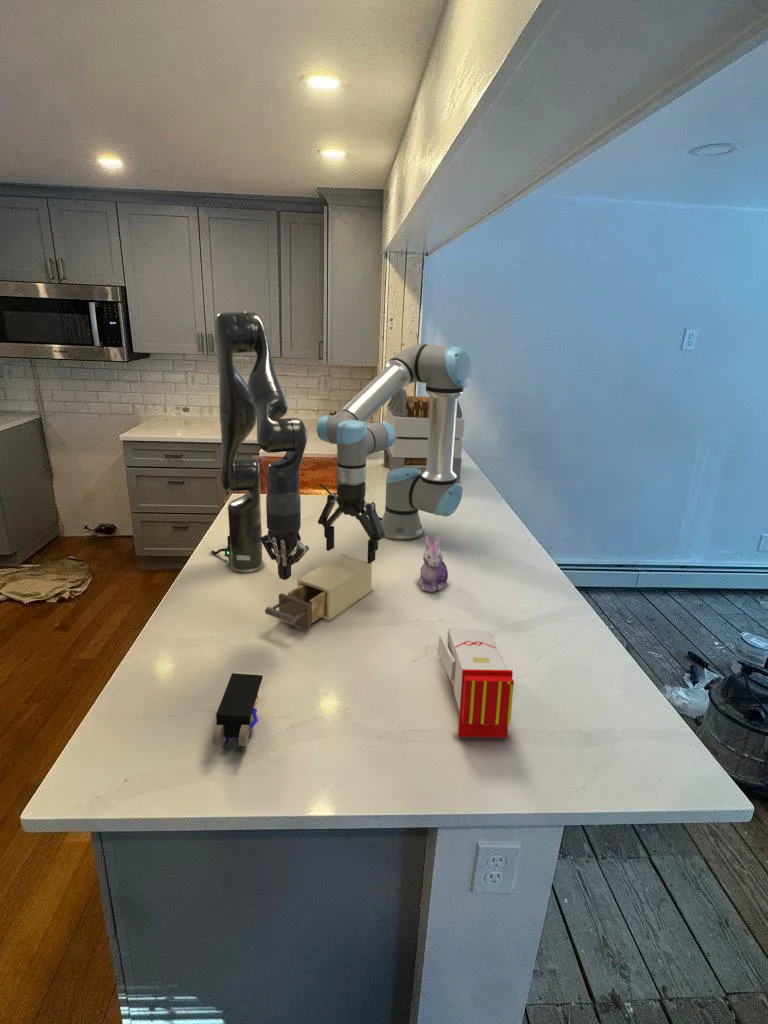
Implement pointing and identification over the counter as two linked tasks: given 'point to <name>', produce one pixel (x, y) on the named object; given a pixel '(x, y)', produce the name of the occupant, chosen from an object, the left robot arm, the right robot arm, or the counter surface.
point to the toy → (478, 682)
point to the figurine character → (237, 710)
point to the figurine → (433, 567)
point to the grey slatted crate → (415, 432)
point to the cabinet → (340, 582)
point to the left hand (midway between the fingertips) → (284, 578)
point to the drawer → (300, 606)
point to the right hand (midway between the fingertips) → (350, 555)
